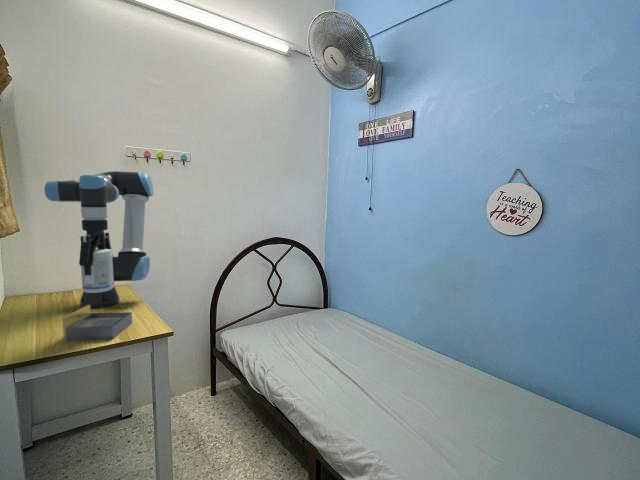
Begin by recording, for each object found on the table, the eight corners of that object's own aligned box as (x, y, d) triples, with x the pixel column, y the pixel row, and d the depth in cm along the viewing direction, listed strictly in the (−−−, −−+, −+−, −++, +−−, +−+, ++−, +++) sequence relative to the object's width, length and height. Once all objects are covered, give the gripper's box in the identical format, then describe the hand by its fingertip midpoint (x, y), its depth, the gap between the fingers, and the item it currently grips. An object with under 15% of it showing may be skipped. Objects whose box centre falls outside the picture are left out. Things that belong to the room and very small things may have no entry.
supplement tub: (93, 286, 121) (90, 248, 119) (119, 286, 122) (117, 248, 120) (76, 293, 111) (73, 252, 109) (104, 293, 112) (102, 252, 110)
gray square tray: (89, 324, 124) (87, 304, 123) (132, 323, 127) (131, 303, 126) (63, 340, 110) (62, 318, 109) (113, 339, 112) (112, 317, 111)
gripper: (100, 217, 124) (103, 273, 126) (62, 220, 102) (67, 288, 104) (121, 217, 125) (123, 273, 127) (87, 221, 103) (91, 288, 105)
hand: (98, 280), depth 116 cm, fingers closed on supplement tub, 10 cm apart
